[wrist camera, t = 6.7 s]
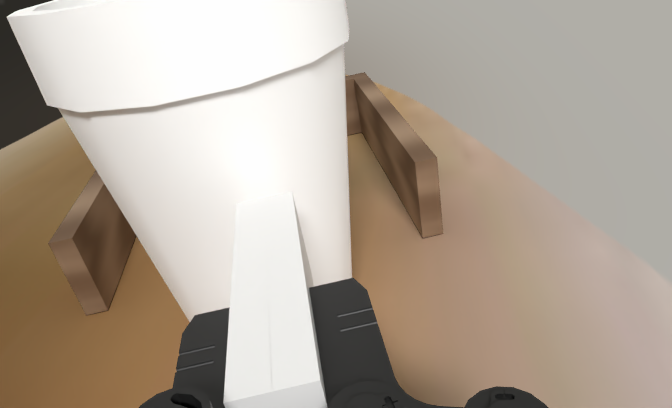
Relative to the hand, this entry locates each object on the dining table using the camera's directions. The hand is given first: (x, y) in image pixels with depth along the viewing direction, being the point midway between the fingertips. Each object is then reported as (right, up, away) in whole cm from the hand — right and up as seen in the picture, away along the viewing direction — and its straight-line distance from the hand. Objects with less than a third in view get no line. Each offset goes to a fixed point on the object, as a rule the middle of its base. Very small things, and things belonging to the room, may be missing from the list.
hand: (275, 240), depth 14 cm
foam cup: (-1, -4, +7) cm, 8 cm away
